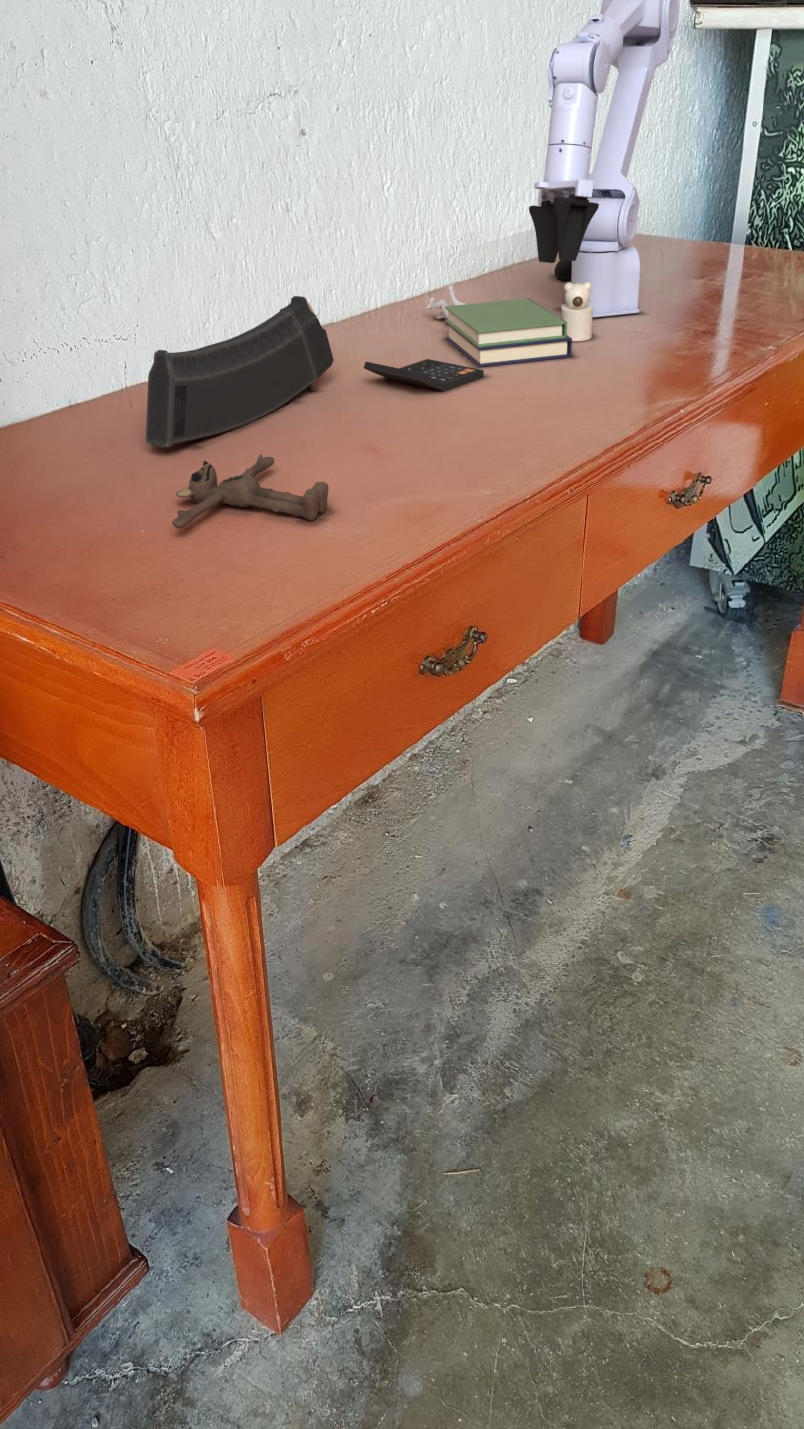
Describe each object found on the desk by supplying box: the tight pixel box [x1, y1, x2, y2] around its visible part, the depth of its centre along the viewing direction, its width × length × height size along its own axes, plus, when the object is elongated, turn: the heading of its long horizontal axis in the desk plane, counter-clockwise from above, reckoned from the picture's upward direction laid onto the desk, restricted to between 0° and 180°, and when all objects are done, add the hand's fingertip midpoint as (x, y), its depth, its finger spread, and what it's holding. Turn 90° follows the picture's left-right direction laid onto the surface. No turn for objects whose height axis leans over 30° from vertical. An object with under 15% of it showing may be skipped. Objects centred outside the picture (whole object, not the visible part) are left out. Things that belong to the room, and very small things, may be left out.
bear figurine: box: [171, 454, 329, 529], centre depth 107 cm, size 18×4×14 cm
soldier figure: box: [425, 283, 467, 320], centre depth 164 cm, size 8×5×12 cm
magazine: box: [145, 295, 334, 449], centre depth 129 cm, size 17×3×30 cm
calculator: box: [363, 358, 485, 392], centre depth 141 cm, size 9×12×3 cm
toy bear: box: [560, 281, 593, 342], centre depth 155 cm, size 4×4×7 cm
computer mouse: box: [554, 260, 572, 281], centre depth 190 cm, size 8×12×4 cm, turn 89°
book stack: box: [444, 297, 573, 368], centre depth 153 cm, size 12×16×4 cm
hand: (556, 261), depth 151 cm, fingers open, 7 cm apart
